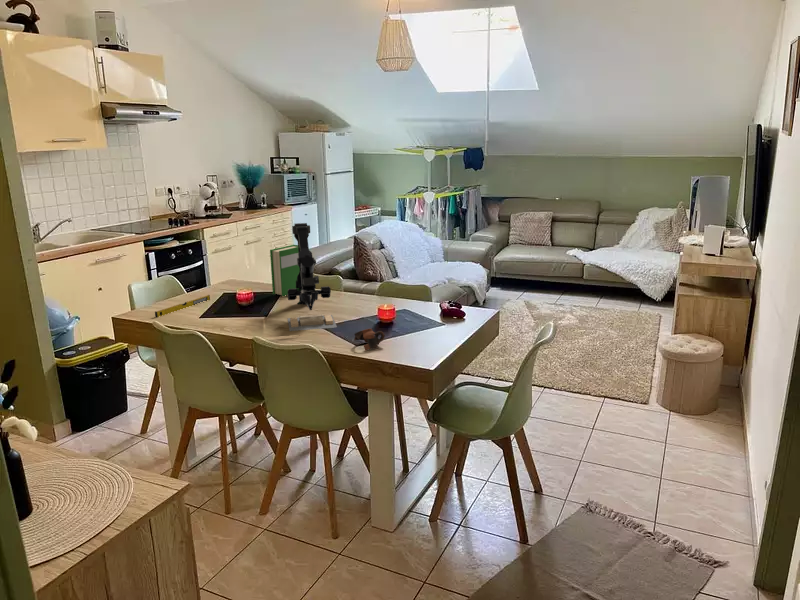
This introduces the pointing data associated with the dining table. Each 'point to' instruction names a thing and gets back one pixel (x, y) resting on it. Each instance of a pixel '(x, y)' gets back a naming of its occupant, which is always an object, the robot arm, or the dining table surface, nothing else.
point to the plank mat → (295, 325)
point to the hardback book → (284, 269)
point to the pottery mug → (369, 338)
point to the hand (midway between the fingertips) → (310, 309)
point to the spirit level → (181, 306)
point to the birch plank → (311, 320)
